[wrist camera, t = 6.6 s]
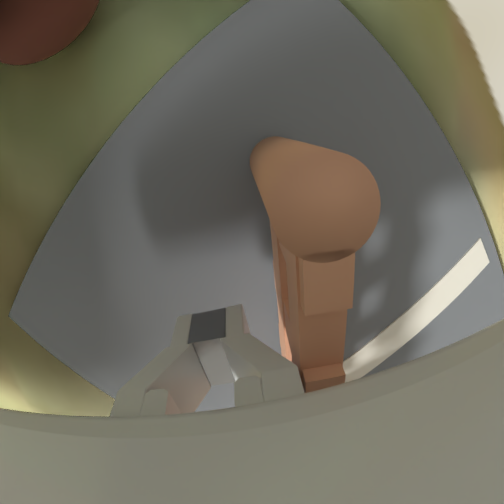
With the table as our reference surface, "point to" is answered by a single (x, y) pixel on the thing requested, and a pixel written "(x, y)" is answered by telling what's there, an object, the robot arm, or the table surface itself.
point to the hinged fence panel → (314, 247)
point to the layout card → (260, 206)
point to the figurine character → (40, 27)
